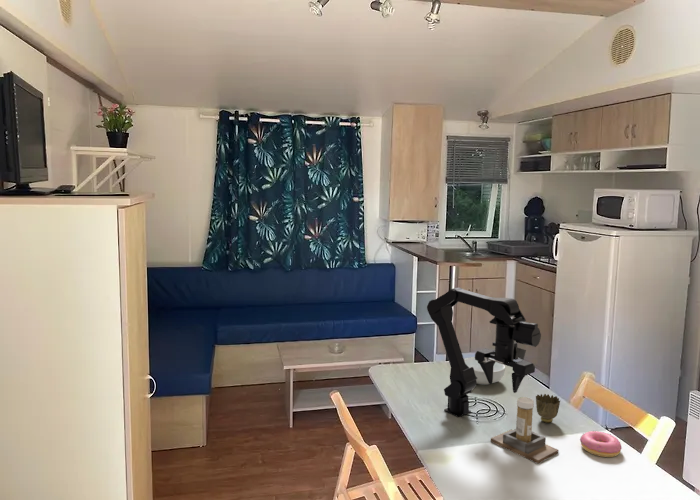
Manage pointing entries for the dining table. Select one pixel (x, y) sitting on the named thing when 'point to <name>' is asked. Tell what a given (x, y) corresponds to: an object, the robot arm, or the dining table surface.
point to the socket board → (526, 446)
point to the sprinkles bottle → (524, 419)
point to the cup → (547, 407)
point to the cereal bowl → (481, 377)
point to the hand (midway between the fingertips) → (502, 388)
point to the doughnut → (600, 444)
